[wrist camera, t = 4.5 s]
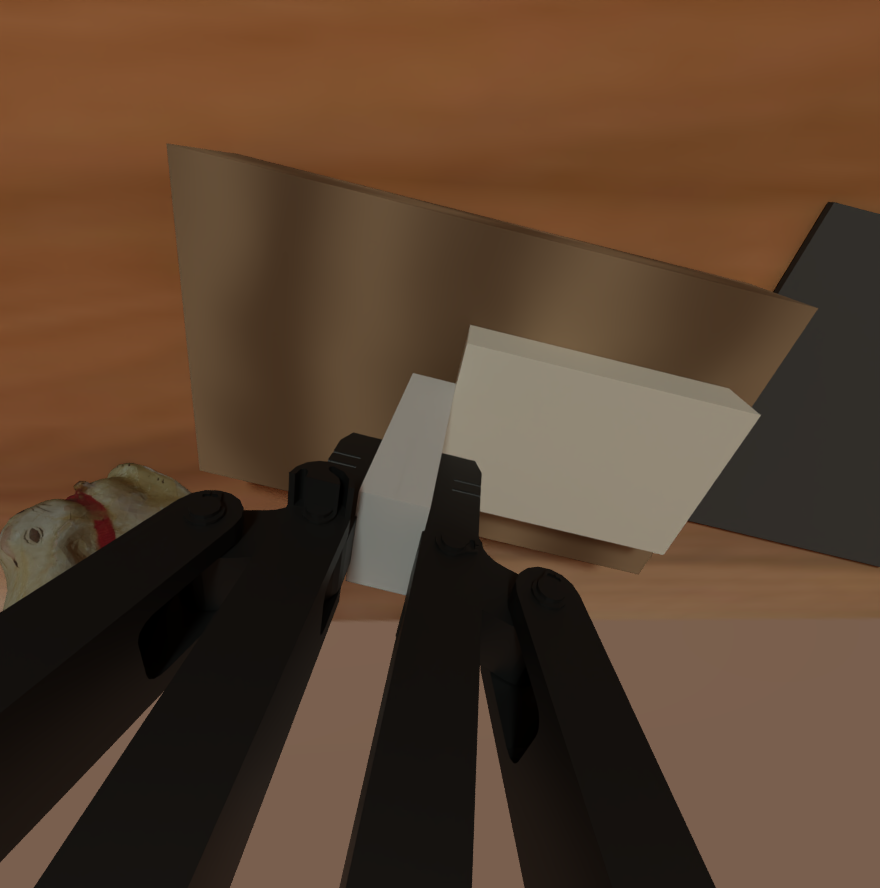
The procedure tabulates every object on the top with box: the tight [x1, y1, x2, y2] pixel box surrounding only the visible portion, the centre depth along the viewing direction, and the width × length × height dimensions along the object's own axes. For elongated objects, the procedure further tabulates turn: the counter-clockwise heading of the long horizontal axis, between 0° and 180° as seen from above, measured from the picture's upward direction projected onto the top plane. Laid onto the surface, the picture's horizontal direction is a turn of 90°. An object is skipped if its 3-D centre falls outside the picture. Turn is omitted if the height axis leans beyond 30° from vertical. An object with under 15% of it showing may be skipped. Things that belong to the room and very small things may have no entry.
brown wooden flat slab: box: [167, 144, 818, 575], centre depth 17 cm, size 20×12×4 cm, turn 78°
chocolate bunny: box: [0, 463, 190, 610], centre depth 21 cm, size 6×8×10 cm
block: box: [442, 325, 761, 555], centre depth 15 cm, size 9×6×2 cm, turn 78°
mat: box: [688, 202, 880, 567], centre depth 18 cm, size 13×14×1 cm
